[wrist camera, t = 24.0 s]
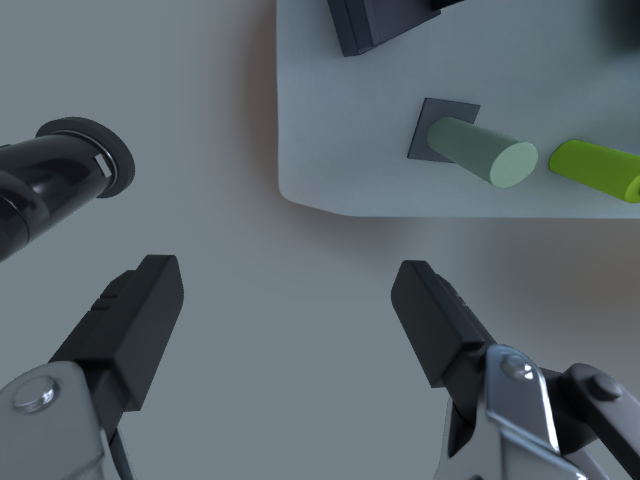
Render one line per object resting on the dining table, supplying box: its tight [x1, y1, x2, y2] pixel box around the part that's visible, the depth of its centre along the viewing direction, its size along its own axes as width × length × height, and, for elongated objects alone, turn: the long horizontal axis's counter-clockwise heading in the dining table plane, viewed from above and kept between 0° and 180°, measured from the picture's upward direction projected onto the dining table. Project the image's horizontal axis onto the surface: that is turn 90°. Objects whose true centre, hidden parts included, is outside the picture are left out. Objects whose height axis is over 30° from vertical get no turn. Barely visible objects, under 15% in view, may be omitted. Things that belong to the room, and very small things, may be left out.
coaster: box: [407, 98, 480, 163], centre depth 42 cm, size 9×9×1 cm
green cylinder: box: [427, 117, 538, 188], centre depth 35 cm, size 5×5×16 cm
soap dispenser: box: [549, 140, 640, 203], centre depth 39 cm, size 6×7×20 cm
